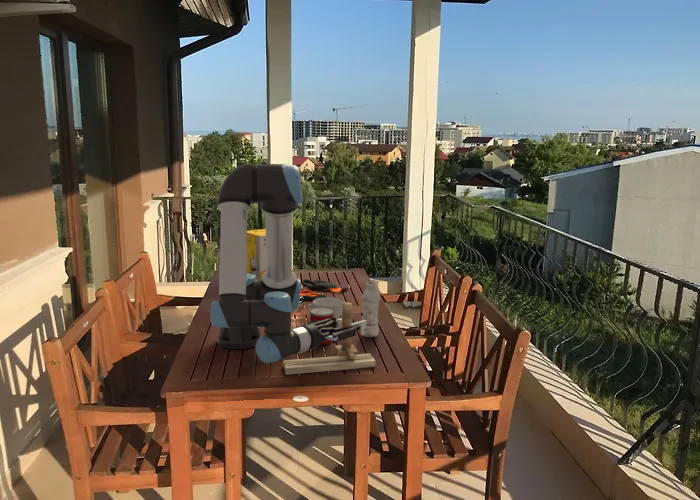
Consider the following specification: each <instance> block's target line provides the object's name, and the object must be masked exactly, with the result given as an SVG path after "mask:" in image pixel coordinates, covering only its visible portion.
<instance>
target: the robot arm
mask: <svg viewBox="0 0 700 500" xmlns="http://www.w3.org/2000/svg"><path fill="white" fill-rule="evenodd" d="M301 182H302V181H301V174H300V169H299V167H298V166H297V165H295V164H287V163H250V162H249V163H244V164H240V165H239V166H237V167H236V168H233V169H232V171H230V173H228V174H227V176H226V178H225V179H224V181H222V184H221V187H220V189H219V192H218V196H217V210H218V211H219V212H220V232H219V233H220V234H219V235H220V236H219V237H220V239H219V276H218V277H219V279H218V281H219V283H218V300H213V301H212V302H211V304H210V311H209V312H210V313H209V314H210V315H209V316H210V323H211V326H212V327H214V328H218V332H217V335H216V344H217V345H218V346H219V347H221V348H223V349H229V350H246V349H250V348H254V347H255V352H256V353H255V354H256V355H257V357H258V359H259V360H260V361H261V362H262V363H264V364H270V363H275V362H280V361H282V360H283V359H285V358H289V357H292V356H298V355H299V354H301V353H304V352H307V351H311V350H314V349H317V348H319V346H321V345H320V344H321V342H322V341H328V340H332V342H331V343H333V344H337V343H338V342H342V340H344V339H347V338H350V337H352V338H354V337H356V334H357V332H359V331H361V330H362V329H365V328H366V320H360V321H357V322H356V321H355V322H352V324H350V326H346V327H342V317H339V318H338V319H337V320H336V317H333V320H331V319H330V318H328V319H325V320H322V321H318V322H315V323H312V324H310V323H307V324H305V325H302V326H297V327H294V328H292V313H293V312H295V311H297V310H298V308H299V305H300V300H301V299H300V291H302V288H301V287H302V286H301V285H302V284H301V279H300V278H298V277H297V274H296V273H295V272H294V271H293V247H294V246H293V241H294V240H293V237H294V235H293V233H294V232H293V231H294V229H293V228H294V213H295V212H297V210H298V207H299V205H300V204H303V202H304V201H303V200H304V199H303V191H302V183H301ZM253 203H254V204H259V207H260V210H261V211H263V212H264V215H265V216H264V218H265V220H264V221H265V222H264V223H265V229H266V272H265V273H264V274H263V276H262V279H256V276H255V275H254V274H248V273H247V274H246V264H247V231H248V212H250V210H251V208H252V205H251V204H253ZM352 318H353V315H352ZM326 322H327V323H326ZM260 328H264V331H263V333H264V334H263V336H262V331H261V329H260ZM330 330H331V331H330Z"/></svg>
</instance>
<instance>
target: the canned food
mask: <svg viewBox="0 0 700 500" xmlns="http://www.w3.org/2000/svg"><path fill="white" fill-rule="evenodd" d="M309 312H310V314H309V315H310V316H309V324H312V323H315V322H318V321H322V320H325V319H328V318H330V319H331V320H333V310H331V309H328V308H315V309H313V308H312V309H311V310H310V311H309ZM326 323H327V322H326ZM330 331H331V330H330ZM331 343H332V340H328V341H322V342H321V344H320V345H319V346H321V345H322V346H323V345H329V344H331Z"/></svg>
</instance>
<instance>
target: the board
mask: <svg viewBox="0 0 700 500" xmlns="http://www.w3.org/2000/svg"><path fill="white" fill-rule="evenodd" d="M282 360H283V359H282ZM282 363H283V369H284V373H285V375H295V374H296V375H298V374H308V373H318V372H321V373H322V372H333V371H341V370H354V369H366V368H374V367H376V363H377V361H376V360H375V358H374V357H373V355H372V354H371V353H361V354H360V353H358V354H357V355H355V359H350V358H349V356H348V355H345V356H336V355H334V356H322V357H321V356H320V357H310V358H299V359H298V358H296V359H285V360H283V361H282Z"/></svg>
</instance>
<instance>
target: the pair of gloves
mask: <svg viewBox="0 0 700 500" xmlns="http://www.w3.org/2000/svg"><path fill="white" fill-rule="evenodd" d="M302 286H305V287H307V288H308V289H303V290H300V296H303V298H304V299H303V300H305V301H310V302H313V301H314V300H315V299H318V298H324V297H328V295H325V294H323V293H320V292H319V291H321V292H323V291H324V292H326V291H330V292H331V293H336V294H344V293H343V292H348V291H349V288H348V287H342V288H340V287H338V285H336V284H335V283H333V282H329V281H325V280H319V279H318V280H317V279H315V280H311V279H303V280H302ZM312 290H313V291H312ZM314 290H315V291H314Z"/></svg>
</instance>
